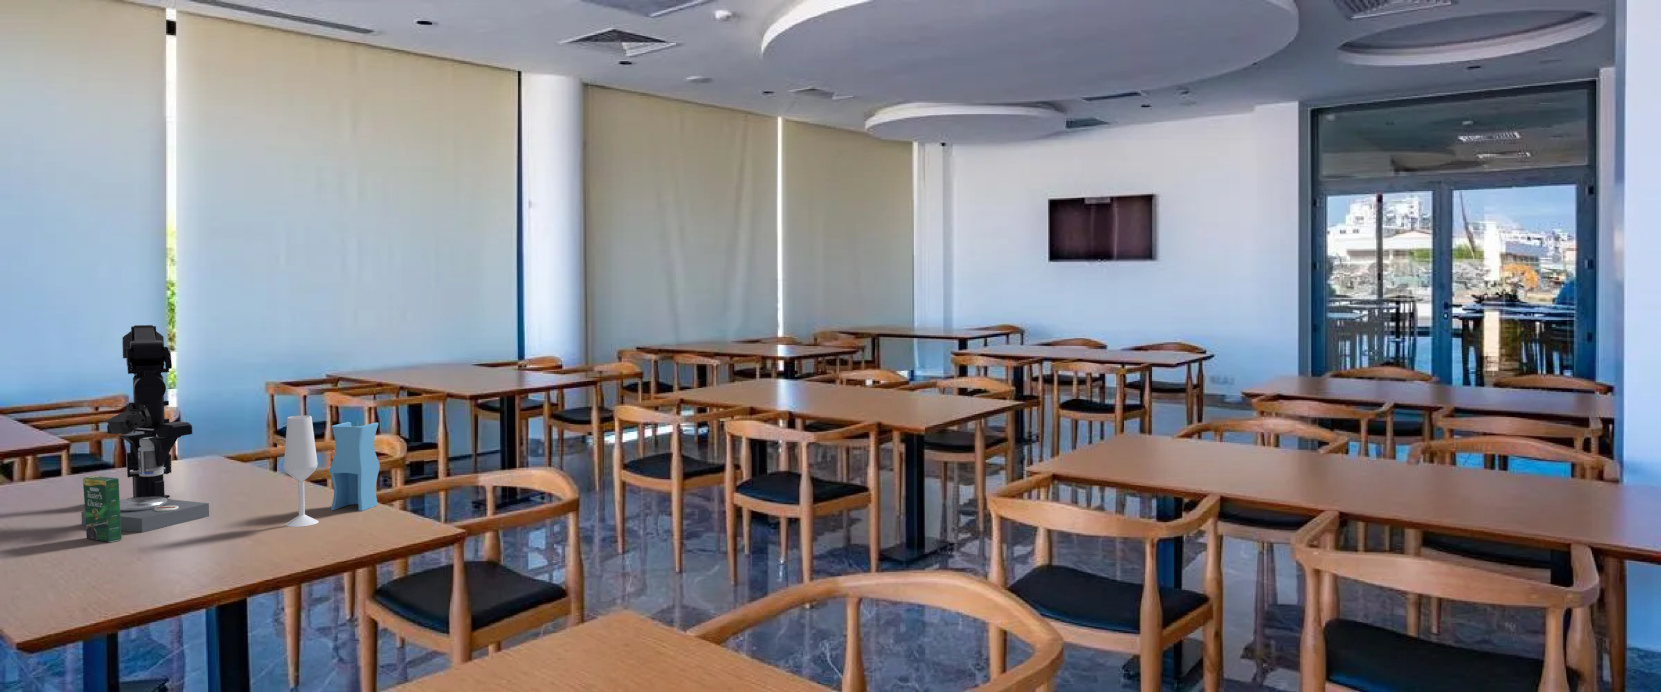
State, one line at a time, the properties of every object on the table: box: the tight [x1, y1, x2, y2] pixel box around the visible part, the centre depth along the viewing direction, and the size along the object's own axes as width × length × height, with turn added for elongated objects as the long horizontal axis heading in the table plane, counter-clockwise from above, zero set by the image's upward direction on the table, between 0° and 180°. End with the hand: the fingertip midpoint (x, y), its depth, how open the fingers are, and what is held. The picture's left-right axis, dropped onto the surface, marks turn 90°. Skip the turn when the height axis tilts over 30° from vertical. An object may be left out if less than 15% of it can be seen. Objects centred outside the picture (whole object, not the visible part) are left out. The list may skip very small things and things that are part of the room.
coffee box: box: [82, 475, 122, 543], centre depth 208 cm, size 8×3×13 cm, turn 66°
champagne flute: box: [283, 415, 320, 528], centre depth 223 cm, size 7×7×24 cm
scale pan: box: [120, 497, 168, 512], centre depth 225 cm, size 11×11×1 cm
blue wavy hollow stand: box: [329, 421, 381, 512], centre depth 240 cm, size 8×8×20 cm
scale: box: [81, 498, 210, 533], centre depth 225 cm, size 18×16×4 cm
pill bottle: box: [138, 437, 165, 476], centre depth 227 cm, size 5×5×8 cm
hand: (151, 465), depth 227 cm, fingers closed on pill bottle, 5 cm apart
